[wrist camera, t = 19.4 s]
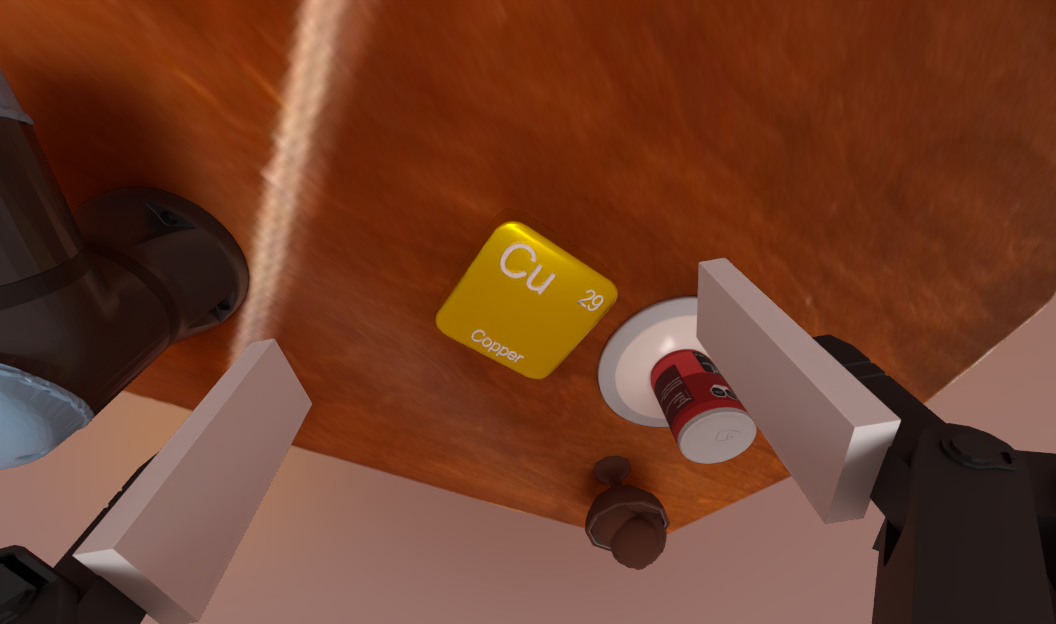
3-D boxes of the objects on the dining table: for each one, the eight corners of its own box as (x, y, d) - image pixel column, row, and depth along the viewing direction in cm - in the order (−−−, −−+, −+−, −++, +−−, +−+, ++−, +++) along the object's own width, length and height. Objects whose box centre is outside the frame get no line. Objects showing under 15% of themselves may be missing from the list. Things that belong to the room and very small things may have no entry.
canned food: (716, 383, 56) (761, 450, 46) (656, 403, 57) (687, 473, 48) (706, 337, 52) (752, 401, 43) (641, 360, 53) (672, 427, 44)
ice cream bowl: (560, 468, 65) (576, 572, 52) (623, 431, 61) (656, 532, 49) (600, 501, 69) (624, 604, 56) (661, 468, 66) (701, 569, 53)
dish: (603, 432, 61) (606, 440, 60) (590, 312, 51) (592, 318, 50) (746, 408, 61) (752, 415, 59) (762, 281, 50) (769, 287, 49)
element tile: (432, 306, 50) (426, 329, 46) (506, 199, 44) (507, 214, 40) (538, 363, 55) (541, 388, 51) (617, 273, 49) (628, 294, 45)
